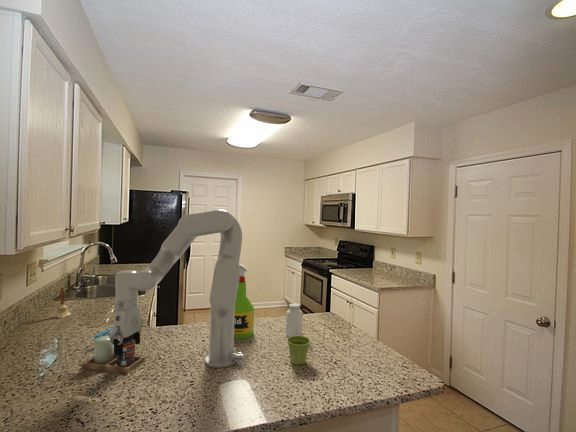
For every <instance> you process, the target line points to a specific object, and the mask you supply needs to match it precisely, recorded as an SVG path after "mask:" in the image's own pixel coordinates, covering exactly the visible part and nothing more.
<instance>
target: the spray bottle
mask: <svg viewBox="0 0 576 432" xmlns="http://www.w3.org/2000/svg"><path fill="white" fill-rule="evenodd" d="M239 264H240V278H239V284H238V290H237V295H236V301H235V321H234V339H245V338H249V337H251V336H253V335H254V328H255V327H254V326H255V324H254V321H255V316H254V315H255V314H254V313H255V307H254V306H253V304H252V302H251V300H250V299H249V298H248V297H247V281H246V276H245V275H246V274H245V272H249V271H250V269H249V268H247V266H245V265H244V264H242V263H239Z"/></svg>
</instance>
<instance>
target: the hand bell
mask: <svg viewBox="0 0 576 432" xmlns="http://www.w3.org/2000/svg"><path fill="white" fill-rule="evenodd" d="M59 297H60V305H59V306H58V307H57V310H56V312H55V314H54V315H55V317H66V316H69V315H71V314H72V313H71V312H70V311H69V309H68V308H69V307H68V305H66V304H65V297H66V289H65V287H61V288H60V291H59ZM71 316H72V315H71ZM69 317H70V316H69ZM66 318H67V317H66Z"/></svg>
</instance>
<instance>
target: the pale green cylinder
mask: <svg viewBox="0 0 576 432" xmlns="http://www.w3.org/2000/svg"><path fill="white" fill-rule="evenodd" d="M93 346H94V347H93V353H94V354H93V357H94V363H95V364H104V365H106V364H107V363H109V362H110V361H112V360H114V345H113V344H112V342H111V340H110V338H109V336H102V337H99V338H97V339H95V338H94V345H93Z"/></svg>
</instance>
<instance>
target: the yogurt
mask: <svg viewBox="0 0 576 432" xmlns="http://www.w3.org/2000/svg"><path fill="white" fill-rule="evenodd" d="M113 330H114V326H113V327H111V328H109V329H108V328H107V329H106V330H104V331H102V332H100V333H97V334H95V335H94V340H95V339H97V338H99V337H102V336H109V335H110V334H111V333H112V331H113ZM119 339H120V338H118V339H117V340H119Z"/></svg>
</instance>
